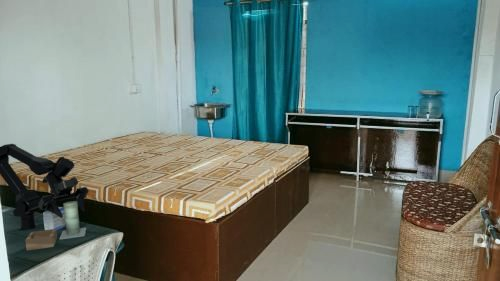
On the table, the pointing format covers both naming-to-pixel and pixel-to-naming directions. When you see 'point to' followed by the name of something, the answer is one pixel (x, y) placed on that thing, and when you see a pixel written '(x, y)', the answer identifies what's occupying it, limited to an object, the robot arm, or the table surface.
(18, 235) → the table surface
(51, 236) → the pocket frame
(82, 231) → the slate pad
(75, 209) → the pale green cylinder
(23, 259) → the table surface
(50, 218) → the medicine box
